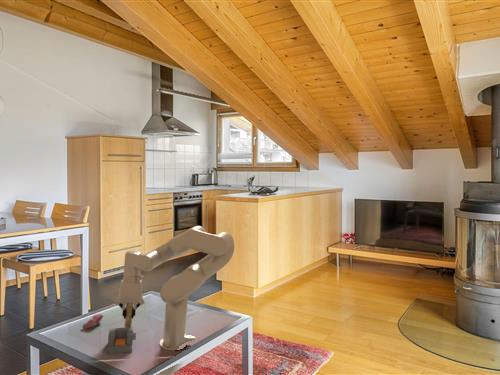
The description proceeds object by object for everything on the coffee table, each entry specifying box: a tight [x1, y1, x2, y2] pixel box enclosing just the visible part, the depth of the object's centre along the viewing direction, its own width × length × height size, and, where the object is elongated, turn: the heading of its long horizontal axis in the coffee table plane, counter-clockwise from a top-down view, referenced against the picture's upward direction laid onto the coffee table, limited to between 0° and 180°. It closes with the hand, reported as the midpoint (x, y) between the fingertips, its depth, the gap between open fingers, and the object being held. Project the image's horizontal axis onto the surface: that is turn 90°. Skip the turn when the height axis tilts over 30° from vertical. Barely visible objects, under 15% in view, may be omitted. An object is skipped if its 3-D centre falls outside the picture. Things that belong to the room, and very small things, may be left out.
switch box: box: [106, 326, 134, 354], centre depth 170 cm, size 10×10×7 cm
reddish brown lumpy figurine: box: [82, 313, 104, 330], centre depth 189 cm, size 10×5×7 cm
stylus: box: [123, 303, 134, 328], centre depth 180 cm, size 3×3×14 cm
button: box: [114, 338, 126, 346], centre depth 170 cm, size 4×4×2 cm
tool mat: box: [133, 332, 137, 341], centre depth 180 cm, size 7×7×1 cm
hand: (128, 317), depth 180 cm, fingers closed on stylus, 3 cm apart
